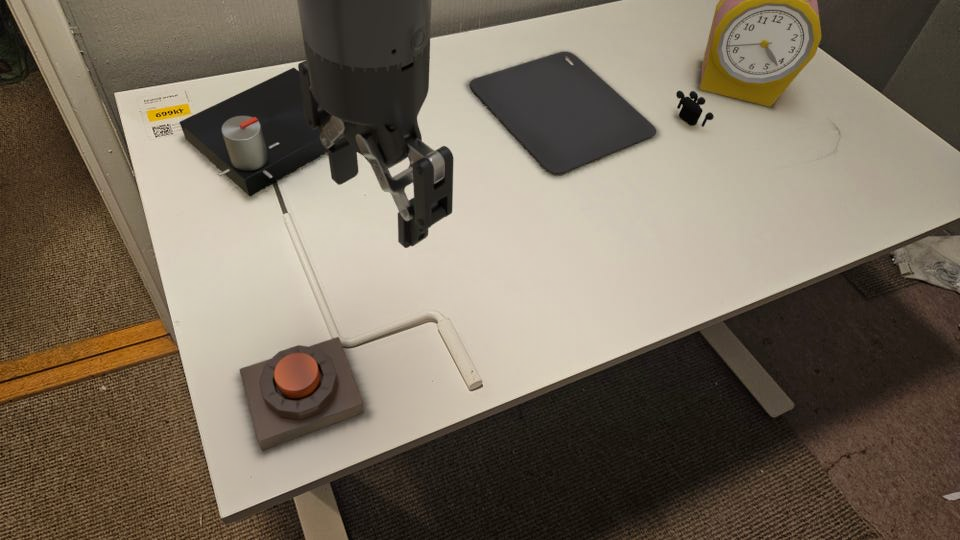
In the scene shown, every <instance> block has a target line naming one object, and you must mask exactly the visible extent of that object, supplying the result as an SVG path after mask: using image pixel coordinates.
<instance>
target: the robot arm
mask: <svg viewBox="0 0 960 540" xmlns="http://www.w3.org/2000/svg"><path fill="white" fill-rule="evenodd" d="M296 2H297V8H298V9H297V10H298V15H299V22H300V28H301V29H300V30H301V34H302V41H303V46H304V53H305V54H304V55H305V60H303V61H301V62H299V63H298V64H297V70H298V71H299V76H300V84H301V91H302V99H303V106H304V114H305V120H306V123H307V125H308V126H309V127H310V128H311V129H316V128H318V129H319V130H320V132H321V134H320V140H321V142H322V144H323V145H324V146H325V147H326V148H327V150H328V152H327V157H328V165H329V169H330V177H331V179H332V181H334V182H335V183H336V184H337V185H343V184H344V183H347V182H348V181H350V180H352V179H354V178H355V177H357V176H358V174H359V161H358V154H360V155H361V156H362V157H364V158H365V160H366V161H367V163H369V164H370V166H371V169H372V171H373V174H374V175H375V178H376V179H377V182H378V184H379V186H380V189H381V190H382V191H383V192H385V193H389V194H390V196H391V197H392V200H393V202H394V204H395V206H396V208H397V210H398V212H397V240H398V243H399V244H400V245H401V246H402V247H403V248H404V249H408V248H410V247H412V248H413V247H414V246H416V245H417V244H419V243H420V242H422V241H423V240H425V239H427V238H428V236H429V229H430V228H431V227H432V226H433V225H435V224H437V223H438V222H439V221H441V220H443V219H444V218H447V217H448V216H450V215H451V214H452V213H453V201H454V200H453V195H454V155H453V154H454V153H452V151H451V149H450V148H449V147H448V146H446V145H442V146H440V147H439V148H437V149H433V148H432V147H430V146H429V145H427V143H425V142H424V141H423V138H422V136H423V135H422V133H421V130H420V126H419V122H418V116H419V113H420V111H421V109H422V107H423V105H424V103H425V101H426V98H427V96H428V94H429V88H430V61H431V60H430V59H431V28H432V27H431V26H432V0H296ZM318 105H320V106H321V107H322V108H319V109H317V108H318ZM407 158H408V161H409V165H408V167H407V168H406V169H404V170H403V171H401V172H399V173H397V174H395V175H394V176H392V174H391V172H390V170H389V169H391V168H393V167H394V166H397V165H398V164H400V163H401V162H403V161H404V160H406V159H407ZM411 184H412V185H413V186H412V187H413V197H412V198H410V199H409V198H408V196H407V193H406V191H405V190H406V188H407V187H408V186H409V185H411Z"/></svg>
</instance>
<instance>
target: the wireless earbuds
mask: <svg viewBox="0 0 960 540" xmlns="http://www.w3.org/2000/svg"><path fill="white" fill-rule="evenodd" d="M675 95H676V98H677V99H679V102H678V104H677V106H676V108H677V109H678V110H679V109H680V111H679V113H678V117H679V119H680V120H682V121H683V122H684V123H686V124H687V125H688V126H690V127H693V126H696V125H697V123H698V121H699V119H700V118H701V116H702V113H703V111H704V110H703V108H702V107H701V106H703V105H705V103H706V98H705V97H703V96H699V95H698V93H697V92H696V91H695V90H691V91H690V92H689V94H688V96H685V93H684V92H683V91H682V90H677V91H676V93H675ZM714 118H715V116H714V113H713V112H711V111H709V112H707V113H706V114H705V115H704V119H703V121H702V123H701V128H704V127H705V125H706V123H707V121H712V120H714Z"/></svg>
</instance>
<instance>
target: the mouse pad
mask: <svg viewBox="0 0 960 540" xmlns="http://www.w3.org/2000/svg"><path fill="white" fill-rule="evenodd" d="M469 88H470V90H471V91H472V92H473V93H474V94H475V95H476V96H477V97H478V99H480V101H481V102H482V103H483V104H484V105H485V106H486V107H487V108H488V109H489V110H490V112H491V113H492V114H493V115H494V116H495V117H496V118H497V119H498V121H500V122H501V124H502V125H503V126H504V127H505V128H506V129H507V130H508V131H509V132H510V134H512V136H513V137H514V138H515V139H516V140H517V141H518V142H519V143H520V144H521V145H522V147H524V148H525V150H527V152H529V154H530V155H531V156H532V157H533V158H534V159H535V160H536V162H538V163H539V165H540V166H541V167H542V168H543V169H544V170H545V171H546V172H548V173H550V174H552V175H563V174H567V173H568V172H571V171H574V170H576V169H578V168H581V167H583V166H585V165H587V164H590V163H593V162H596V161H598V160H600V159H603V158H606V157H608V156H610V155H613V154H615V153H617V152H620V151H623V150H625V149H627V148H630V147H632V146H635V145H637V144H639V143H642V142H644V141H647V140H650V139H651V138H654V137H655V136H656V134H657V129H656V127H655V126H654V125H653V123H651V122H650V121H649V120H648V119H647V118H646V117H645V116H643V115H642V114H641V113H640V112H639V111H638V110H637V109H636V108H635V107H634V106H632V105H631V104H630V103H629V102H628V101H627V100H626V99H625V98H624V97H622V96H621V95H620V93H618V92H617V91H616V90H615V89H614V88H612V86H610V85H609V84H608V83H607V82H606V81H605V80H604V79H602V78H601V76H599V75H598V74H597V73H596V72H595V71H594V70H592V69H591V68H590V67H589V66H588V65H587V64H586V63H584V62H583V61H582V59H580V58H579V57H578V56H577V55H576V54H574V53H573V52H570V51H560V52H557V53H553V54H550V55H547V56H543V57H540V58H537V59H534V60H530V61H527V62H524V63H519V64H517V65H514V66H511V67H508V68H504V69H500V70H498V71H494V72H492V73H488V74H485V75H482V76H478V77H476V78H473V79H471V80H470V82H469Z"/></svg>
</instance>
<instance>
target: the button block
mask: <svg viewBox="0 0 960 540" xmlns="http://www.w3.org/2000/svg"><path fill="white" fill-rule="evenodd" d="M292 353H305V354H308V355H310V356H311V357H313V358H314V359H315V361H316V362H317V365H318V369H319V373H320V382H319V384H318V386H317V388H316V389H315V390H314V391H313V392H312V393H311V394H310V395H308V396H306V397H303V398H298V399H294V398H289V397H286V396H285V395H283V394H282V393H281V392H280V391H279V389H278V386H277V384H276V381H275V378H274V371H275V368H276V365H277V364H278V362H279V361H280V360H281V359H282V358H284V357H285V356H287V355H289V354H292ZM239 373H240V377H241V382H242V386H243V389H244V393H245V397H246V401H247V406H248V410H249V412H250V416H251V420H252V424H253V428H254V432H255V436H256V440H257V443H258V445H259V446H260V448H261V450H262V451H264V450H266V449H270V448H272V447H275V446H277V445H280V444H283V443H285V442H288V441H291V440H293V439H296V438H297V439H298V438H299V437H302V436H304V435H307V434H310V433H312V432H315V431H318V430H320V429H323V428H326V427H329V426H331V425H334V424H337V423H340V422H342V421H345V420H347V419H350V418H353V417H355V416H356V417H357V416H358V415H361V414H364V413H365V406H364V401H363V398H362V396H361V394H360V390H359V387H358V386H357V383H356V379H355V377H354V374H353V372H352V369H351V367H350V364H349V361H348V358H347V355H346V352H345V349H344V346H343V345H342V341H341V339H340V337H339V336H336V337H334V338H330V339H327V340H324V341H321V342H319V343H315V344H312V345H309V346H308V345H301V344H298V345H295V346H291V347H289V348H285V349H283V350H279V351H278V352H276V354H274V355H273V356H272V357H271V358H269V359H266V360H262V361H261V362H260V361H259V362H256V363H254V364H251V365H248V366H244V367H241V368H239Z"/></svg>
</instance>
